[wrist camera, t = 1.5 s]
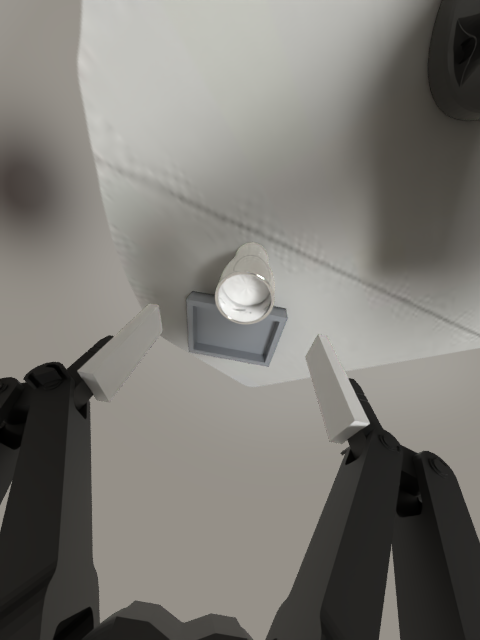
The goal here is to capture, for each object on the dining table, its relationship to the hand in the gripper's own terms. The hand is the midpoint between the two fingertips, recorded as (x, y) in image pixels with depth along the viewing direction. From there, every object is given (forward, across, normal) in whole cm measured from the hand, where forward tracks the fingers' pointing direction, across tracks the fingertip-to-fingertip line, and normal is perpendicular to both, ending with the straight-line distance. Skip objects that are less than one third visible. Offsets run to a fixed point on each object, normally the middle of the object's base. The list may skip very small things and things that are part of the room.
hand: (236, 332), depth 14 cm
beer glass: (+20, 0, 0) cm, 20 cm away
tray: (+20, -1, -16) cm, 26 cm away
